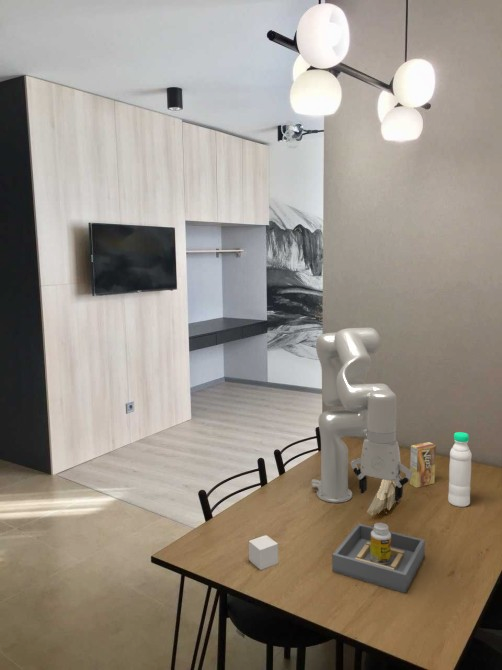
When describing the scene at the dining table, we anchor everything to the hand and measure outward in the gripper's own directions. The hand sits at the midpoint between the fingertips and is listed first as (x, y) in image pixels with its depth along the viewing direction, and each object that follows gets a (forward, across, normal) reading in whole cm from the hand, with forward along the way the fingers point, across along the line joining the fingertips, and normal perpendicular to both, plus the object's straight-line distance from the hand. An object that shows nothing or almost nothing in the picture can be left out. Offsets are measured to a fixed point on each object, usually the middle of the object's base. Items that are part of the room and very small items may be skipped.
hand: (380, 495), depth 151 cm
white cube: (+20, -29, -15) cm, 39 cm away
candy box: (+21, -3, +60) cm, 63 cm away
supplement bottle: (+19, 0, 0) cm, 19 cm away
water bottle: (+20, +12, +50) cm, 55 cm away
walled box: (+20, 0, 0) cm, 20 cm away
